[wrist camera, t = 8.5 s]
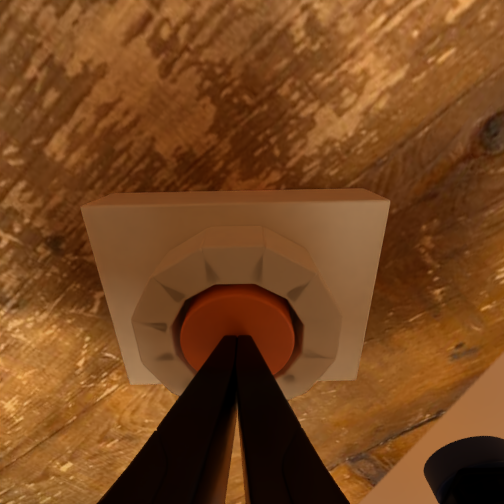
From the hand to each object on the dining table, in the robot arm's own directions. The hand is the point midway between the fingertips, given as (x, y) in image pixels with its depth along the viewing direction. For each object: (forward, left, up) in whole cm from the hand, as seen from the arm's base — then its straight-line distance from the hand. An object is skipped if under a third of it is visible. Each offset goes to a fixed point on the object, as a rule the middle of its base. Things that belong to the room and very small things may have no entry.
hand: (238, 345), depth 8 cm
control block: (0, 0, -4) cm, 4 cm away
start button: (0, 0, -2) cm, 2 cm away
